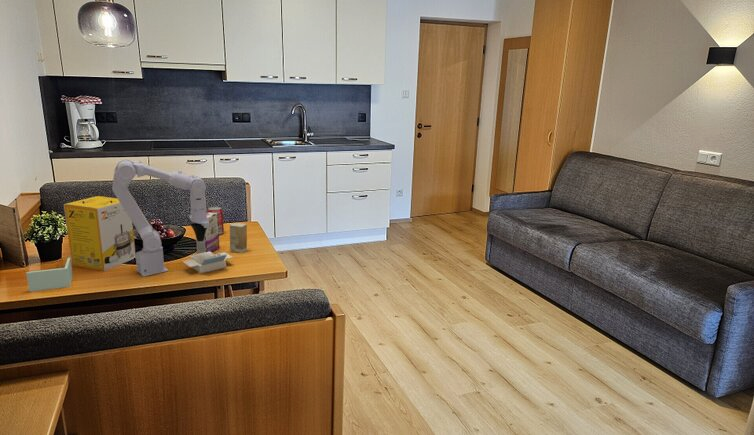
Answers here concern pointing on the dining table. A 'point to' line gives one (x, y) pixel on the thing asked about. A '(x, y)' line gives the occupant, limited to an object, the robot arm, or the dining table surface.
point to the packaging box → (99, 233)
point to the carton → (197, 264)
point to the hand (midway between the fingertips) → (200, 240)
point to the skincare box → (238, 237)
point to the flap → (214, 259)
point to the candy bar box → (210, 236)
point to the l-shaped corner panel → (50, 278)
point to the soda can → (220, 217)
